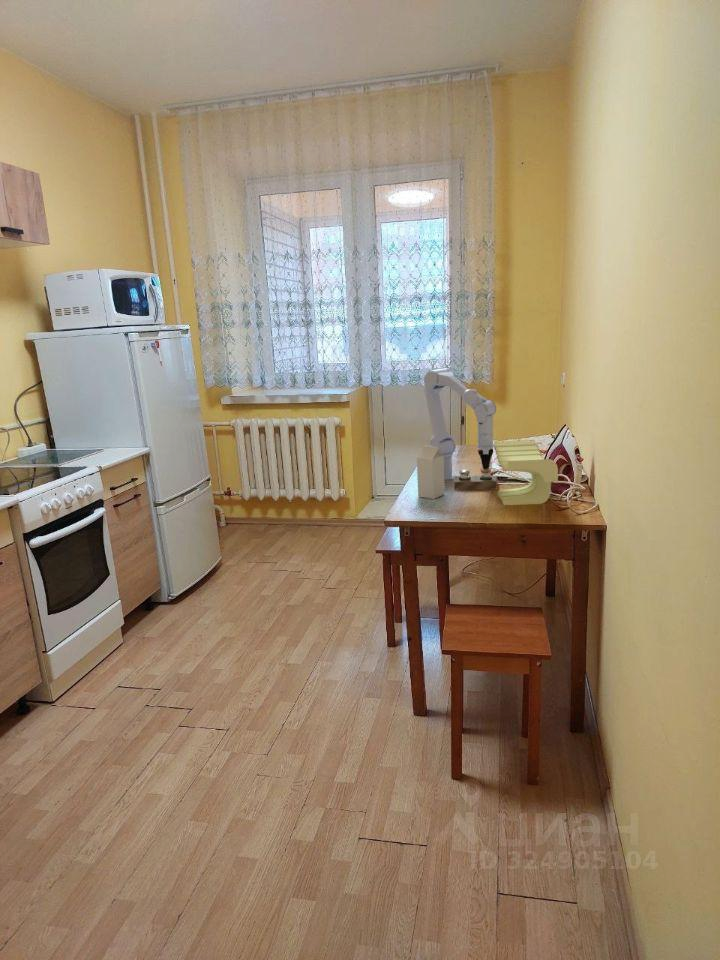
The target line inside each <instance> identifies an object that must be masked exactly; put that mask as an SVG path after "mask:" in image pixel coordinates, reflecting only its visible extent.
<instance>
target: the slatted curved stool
mask: <svg viewBox="0 0 720 960" xmlns="http://www.w3.org/2000/svg"><path fill="white" fill-rule="evenodd" d="M494 444H495V447H494V450H495V454H496V459H497V463H498V464H499V465H500V467H501V469H502V470H503V472H522V473H523V472H524V473H529V474H531V481H530V483H529V484H527V485H525V486H522V487H521V486H520V487H515V488H510V489H509V488H508V489H498V493H497V495H498V496H499V499H500V500H501V502H502V504H503V506H517V505H518V506H521V505H541V504H544V503H545V502H547V501H548V499H549V498H550V496H551V487H552V483H553V482H558V481H559V468H558V465H557V463H556V462H555V461H554V460H552V459H547V458H545V459H544V458H543V455H542V453H541V449H540V447H539V445H538V444H537V443H536V442H535V441H533V440H529V439H526V440H523V439H522V440H509V441H508V440H507V441H506V440H505V441H502V440H501V441H494Z"/></svg>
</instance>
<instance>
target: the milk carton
mask: <svg viewBox="0 0 720 960" xmlns="http://www.w3.org/2000/svg"><path fill="white" fill-rule="evenodd" d="M416 472H417V473H416V474H417V496H418V497H421V498H426V499H431V500H434V499H437V498H439V497H441V496H444V495H445V494H446V493H445V492H446V491H445V480H444V456H443V454H442V453H441V452H440V451H439V450H438V447H435V446H430V445H426V444H422V445H421V448H420V450H419V452H418V454H417V457H416Z"/></svg>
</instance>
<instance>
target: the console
mask: <svg viewBox="0 0 720 960" xmlns="http://www.w3.org/2000/svg"><path fill="white" fill-rule="evenodd" d="M497 477H498V476H497V475H490V480H481V475H469V480H460V475H455V476H454V477H453V489H454V490H497V489H498V487H497V486H498V481H497Z"/></svg>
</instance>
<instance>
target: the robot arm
mask: <svg viewBox="0 0 720 960" xmlns="http://www.w3.org/2000/svg"><path fill="white" fill-rule="evenodd" d="M454 374H455V373H454V372H453V371H451V370H450V369H449V368H448V367H443V368H440V369H438V368H437V369H434V370H432V369H431V370H428V371H427V372H426V373H425V375H424V377H423V381H424V395H425V400H426V405H427V410H428V415H429V418H430V423H431V429H432V436H431V438H430V439H429V444H430V445H429V446H435V447H438V450H439V451H440V452H441V453H442V454H443V456H444V481H448V480H450V481H451V480H452V481H453V480H454V477H455V476H454V475H455V474H454V473H453V455H454V452H455V451H456V448H457V447H456V443H455V440H454V439H453V436H452V434H450V433H449V432H448V431H447V426H446V421H445V416H444V412H443V407H442V402H441V401H442V400H441V396H440V393H441V391H442V390H443V389H444V388H445V387H449V388H450V389H452V390H453V391H455V393H457V394H458V395H459V396H461V398H462V401H463V403H464V404H466V405H467V406H468V407H470V408H471V409H472V410H473V413H474V415H475V416H476V422H477V448H478V450H477V452H478V453H477V454H478V455H479V457H480V460H481V466H482V468H483V469H489V468H490V465H491V459H492V456H493V455H494V448H495V443H494V415H495V414H496V412H497V406H496V403H495V402H494V401H493V400H490V399H488V400H487V399H486V397H483V396H482V395H480V393H478V390H477V389H473V388H469V389H468V387H466V385H465V384H463V382H461V381H460V380H459V379H458V378H457V377H456V376H455V375H454Z"/></svg>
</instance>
